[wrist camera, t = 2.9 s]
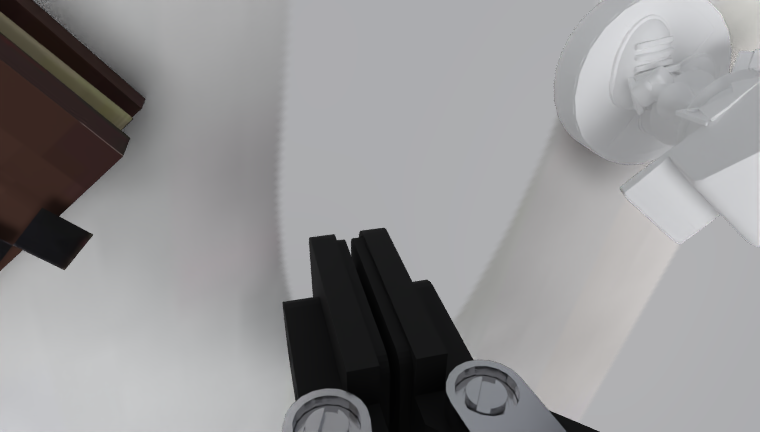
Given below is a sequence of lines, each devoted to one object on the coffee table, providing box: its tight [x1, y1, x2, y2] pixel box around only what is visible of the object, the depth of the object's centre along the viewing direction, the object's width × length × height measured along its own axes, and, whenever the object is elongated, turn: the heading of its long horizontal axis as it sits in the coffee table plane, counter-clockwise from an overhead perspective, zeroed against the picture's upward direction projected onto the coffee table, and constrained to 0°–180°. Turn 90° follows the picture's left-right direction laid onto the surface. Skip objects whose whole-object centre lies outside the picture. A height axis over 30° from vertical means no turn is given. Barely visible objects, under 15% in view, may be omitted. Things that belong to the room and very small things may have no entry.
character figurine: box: [554, 0, 760, 247], centre depth 24 cm, size 9×10×12 cm
